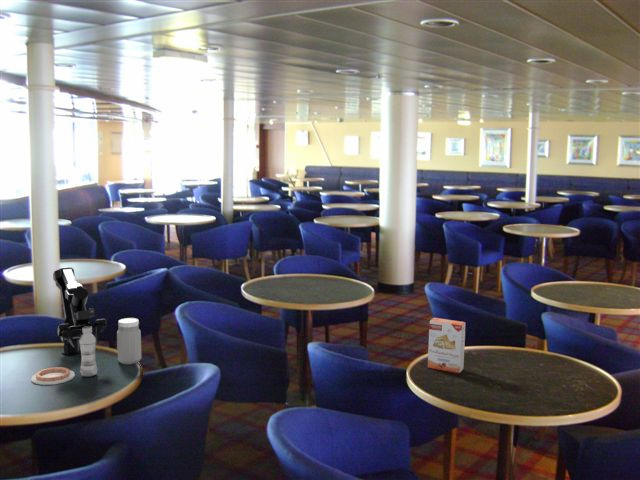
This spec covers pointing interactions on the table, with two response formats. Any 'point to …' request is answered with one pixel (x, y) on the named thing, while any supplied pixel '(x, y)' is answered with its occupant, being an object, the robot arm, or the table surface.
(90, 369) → the plastic bottle
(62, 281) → the robot arm
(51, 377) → the white orange plate
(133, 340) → the jar
